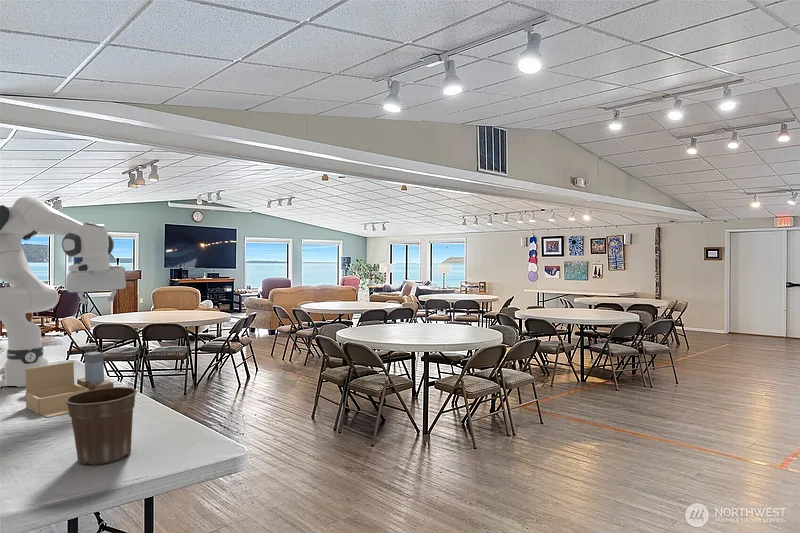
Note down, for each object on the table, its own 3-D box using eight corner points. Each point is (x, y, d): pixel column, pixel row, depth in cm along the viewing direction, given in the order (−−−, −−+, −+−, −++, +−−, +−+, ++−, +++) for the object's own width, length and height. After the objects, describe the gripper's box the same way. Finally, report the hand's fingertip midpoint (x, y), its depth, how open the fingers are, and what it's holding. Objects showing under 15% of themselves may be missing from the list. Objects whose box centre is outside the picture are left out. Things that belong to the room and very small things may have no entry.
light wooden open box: (25, 407, 189) (23, 369, 189) (75, 397, 201) (73, 361, 200) (45, 418, 176) (44, 377, 176) (98, 406, 188) (96, 368, 188)
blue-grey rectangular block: (85, 380, 200) (84, 353, 200) (97, 378, 203) (96, 351, 203) (92, 383, 196) (91, 355, 196) (104, 381, 199) (103, 353, 199)
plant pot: (60, 457, 143) (57, 395, 143) (126, 440, 155) (124, 383, 154) (78, 475, 132) (75, 407, 131) (148, 456, 143) (146, 393, 142)
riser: (77, 395, 203) (77, 379, 202) (95, 392, 207) (94, 376, 207) (95, 403, 192) (95, 386, 192) (113, 399, 197) (113, 382, 197)
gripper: (121, 264, 219) (122, 299, 219) (63, 266, 203) (65, 304, 204) (128, 264, 215) (129, 300, 215) (70, 267, 199) (71, 305, 200)
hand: (97, 302), depth 209 cm, fingers open, 8 cm apart
